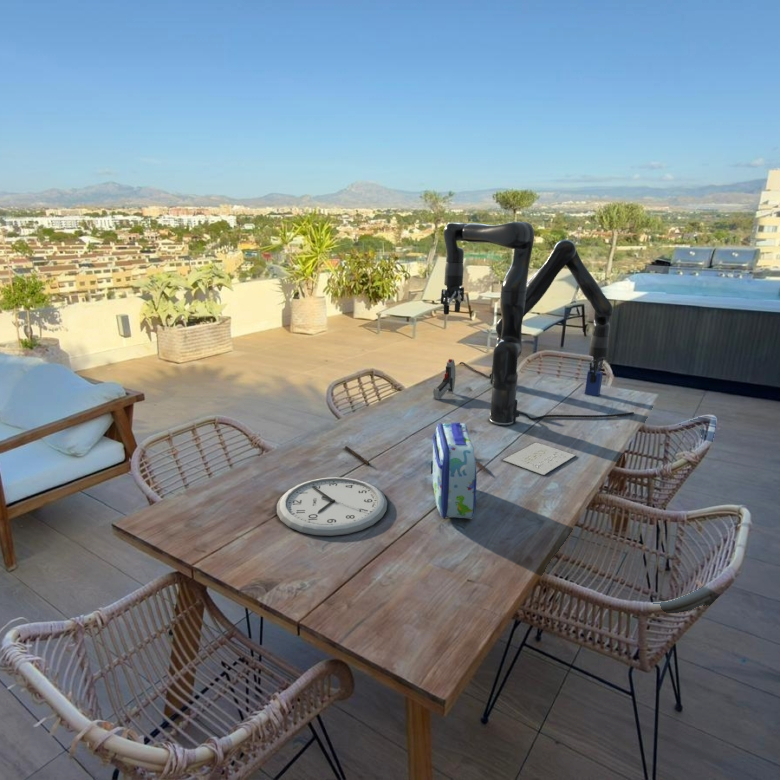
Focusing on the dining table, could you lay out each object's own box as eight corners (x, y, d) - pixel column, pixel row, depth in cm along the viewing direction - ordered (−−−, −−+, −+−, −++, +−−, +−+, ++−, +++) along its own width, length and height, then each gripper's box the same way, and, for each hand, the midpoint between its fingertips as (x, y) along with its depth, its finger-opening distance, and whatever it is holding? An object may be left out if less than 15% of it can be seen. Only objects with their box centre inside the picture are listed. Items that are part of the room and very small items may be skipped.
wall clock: (392, 527, 129) (268, 531, 127) (391, 533, 130) (269, 537, 127) (383, 473, 158) (282, 475, 155) (383, 478, 158) (282, 480, 156)
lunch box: (429, 478, 158) (432, 413, 152) (464, 479, 158) (468, 414, 152) (435, 525, 134) (438, 450, 127) (477, 526, 133) (482, 451, 127)
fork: (483, 474, 162) (483, 469, 161) (463, 454, 176) (463, 448, 176) (491, 474, 162) (491, 468, 162) (470, 453, 177) (470, 447, 176)
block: (587, 391, 247) (590, 369, 244) (599, 394, 244) (603, 371, 241) (584, 393, 244) (587, 371, 241) (597, 396, 241) (600, 373, 238)
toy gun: (433, 366, 227) (451, 357, 238) (433, 400, 233) (450, 390, 244) (438, 367, 226) (455, 358, 237) (438, 401, 232) (455, 391, 243)
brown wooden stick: (344, 448, 179) (344, 445, 179) (346, 448, 179) (346, 445, 179) (367, 464, 167) (367, 462, 167) (368, 464, 167) (368, 461, 167)
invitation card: (535, 442, 186) (575, 454, 176) (535, 442, 187) (575, 455, 176) (502, 459, 172) (543, 474, 162) (502, 460, 172) (543, 475, 162)
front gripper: (455, 272, 223) (453, 310, 228) (436, 274, 212) (434, 314, 217) (470, 273, 218) (468, 312, 223) (452, 275, 208) (450, 316, 213)
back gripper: (594, 341, 245) (590, 377, 250) (586, 346, 234) (581, 383, 239) (611, 344, 241) (606, 379, 246) (603, 349, 229) (598, 386, 235)
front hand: (451, 313), depth 220 cm, fingers open, 8 cm apart
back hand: (593, 381), depth 242 cm, fingers closed on block, 4 cm apart
